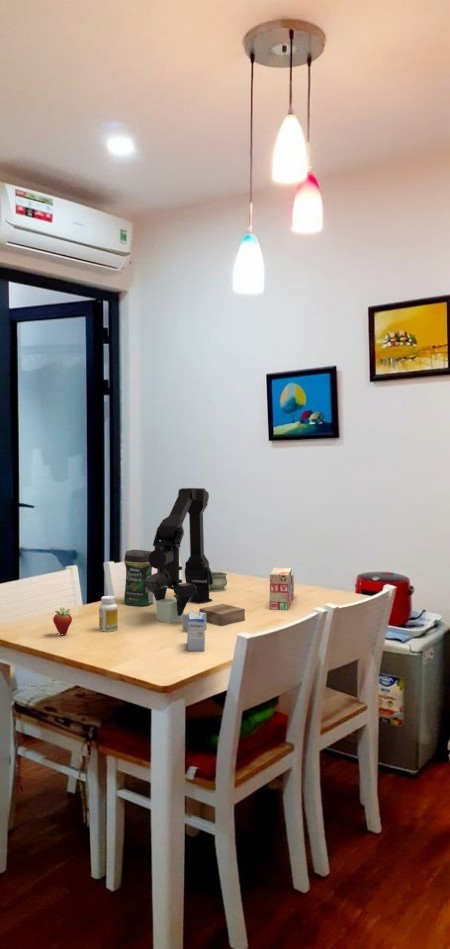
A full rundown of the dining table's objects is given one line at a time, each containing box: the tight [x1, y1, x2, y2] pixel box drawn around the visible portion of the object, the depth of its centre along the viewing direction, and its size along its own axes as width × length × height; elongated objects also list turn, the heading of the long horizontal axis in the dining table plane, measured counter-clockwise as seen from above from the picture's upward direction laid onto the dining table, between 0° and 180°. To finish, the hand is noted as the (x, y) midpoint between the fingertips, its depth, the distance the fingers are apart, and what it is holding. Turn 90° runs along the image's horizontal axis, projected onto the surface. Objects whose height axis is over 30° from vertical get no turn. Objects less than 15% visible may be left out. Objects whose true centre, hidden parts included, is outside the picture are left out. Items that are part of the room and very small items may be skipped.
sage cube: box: [155, 597, 185, 624], centre depth 221 cm, size 6×6×6 cm
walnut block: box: [198, 603, 246, 627], centre depth 220 cm, size 10×10×4 cm
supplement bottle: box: [98, 595, 119, 633], centre depth 208 cm, size 5×5×10 cm
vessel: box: [209, 571, 228, 593], centre depth 266 cm, size 12×9×6 cm
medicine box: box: [186, 611, 206, 652], centre depth 191 cm, size 8×4×9 cm, turn 5°
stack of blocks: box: [269, 567, 295, 612], centre depth 244 cm, size 21×6×12 cm, turn 170°
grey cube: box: [182, 610, 207, 633], centre depth 208 cm, size 5×5×5 cm
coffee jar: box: [124, 549, 154, 607], centre depth 242 cm, size 10×8×19 cm
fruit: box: [52, 607, 73, 636], centre depth 202 cm, size 5×5×8 cm
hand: (170, 613), depth 221 cm, fingers open, 9 cm apart
